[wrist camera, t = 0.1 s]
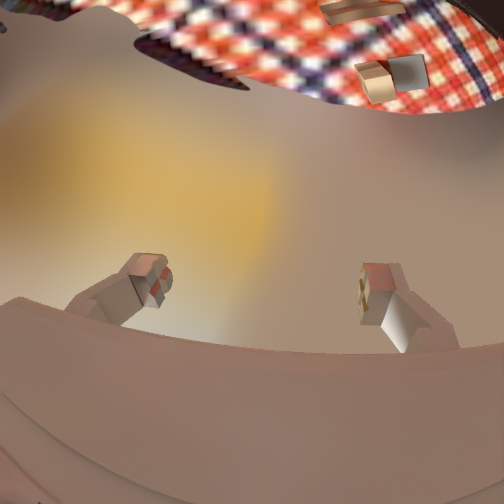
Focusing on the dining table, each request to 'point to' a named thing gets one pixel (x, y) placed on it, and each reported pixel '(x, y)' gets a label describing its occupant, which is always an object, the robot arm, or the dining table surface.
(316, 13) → the dining table surface
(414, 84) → the slate coaster
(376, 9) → the screen
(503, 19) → the diary
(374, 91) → the tan boxy piece
